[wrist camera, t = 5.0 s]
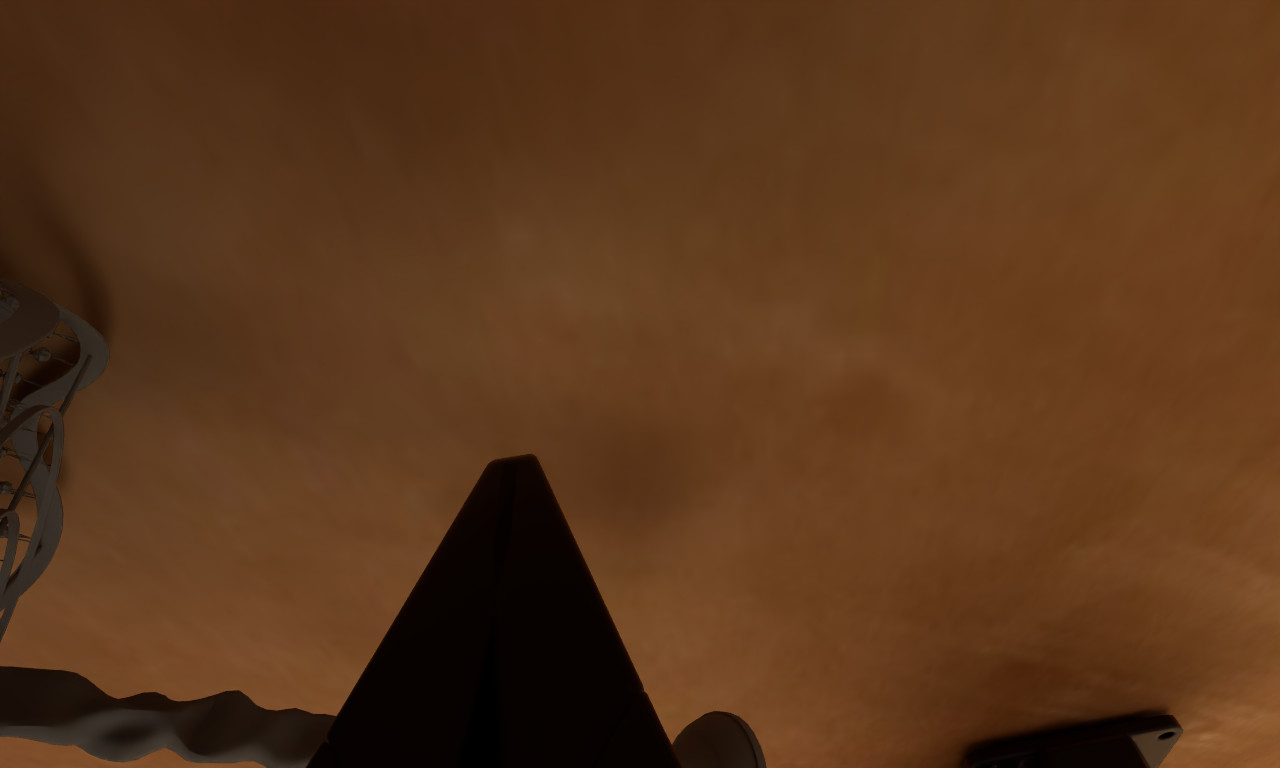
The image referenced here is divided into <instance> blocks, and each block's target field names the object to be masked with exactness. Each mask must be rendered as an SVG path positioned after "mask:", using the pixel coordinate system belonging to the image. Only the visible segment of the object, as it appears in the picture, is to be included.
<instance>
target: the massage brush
mask: <svg viewBox="0 0 1280 768" xmlns="http://www.w3.org/2000/svg"><path fill="white" fill-rule="evenodd" d="M0 285H1V286H0V287H1V288H3V289H4V290H6V291H4V290H0V291H1V292H2V291H3V292H8V293H12V294H10V295H9V296H7V297H6V298H4V293H3V292H2V294H3V297H1V299H0V361H2V360H5V359H7V358H9V357H11V361H10V364H9V367H8V371H7V372H6V373H5V374H2V373H3V372H2V370H1V369H0V370H1V374H0V376H2V375H3V376H4V377H3V380H5V381H4V384H3V387H2V391H1V394H0V429H2V428H3V429H2V430H1V431H0V459H1V458H3V457H5V455H10V454H7V450H8V449H9V448H7V447H4V446H3V445H4V444H5V443H6V442H7V441H8V440H9V439H10V438H11V441H12V444H13V447H14V449H15V452H16V454H17V456H16V455H11V456H13V457H15V456H16V457H15V458H18V459H19V460H20V462H21V464H22V466H23V468H24V470H25V472H26V475H25V476H24V478H23V480H22V482H21V484H20V486H19V488H18V490H17V492H15V493H16V494H15V495H14V497H13V499H12V501H11V503H10V505H9V507H8V509H7V510H6V509H0V519H2V520H1V522H0V538H3V537H5V538H8V541H7V547H6V552H5V557H4V560H0V561H3V565H2V568H1V572H0V611H2V610H3V609H4V608H5V611H4V613H3V616H2V618H1V621H0V642H1V640H2V637H3V635H4V633H5V630H6V628H7V625H8V623H9V620H10V618H11V615H12V613H13V610H14V608H15V606H16V603H17V601H18V598H19V597H20V596H21V595H22V594H23V593H24V592H25V591H26V590H27V589H28V588H29V587H30V586H31V585H32V584H33V583H34V582H35V581H36V580H37V579H38V578H39V577H40V575H41V574H42V573H43V571H44V570H45V569H46V567H47V566H48V564H49V562H50V561H51V559H52V557H53V555H54V553H55V551H56V548H57V546H58V543H59V540H60V537H61V532H62V527H63V507H62V502H61V497H60V494H59V491H58V488H57V486H56V483H57V478H58V474H59V469H60V464H61V459H62V452H63V444H64V423H63V416H64V414H65V412H66V410H67V408H68V406H69V404H70V402H71V400H72V398H73V396H74V394H75V393H76V392H77V391H79V390H81V389H82V388H84V387H86V386H88V385H89V384H91V383H92V382H93V381H95V380H96V379H97V378H98V377H99V376H100V375H101V374H102V373H103V372H104V370H105V369H106V367H107V365H108V362H109V358H110V351H109V347H108V344H107V342H106V340H105V339H104V337H103V336H102V335H101V334H100V333H99V332H98V331H97V330H96V329H95V328H94V327H93V326H91V325H90V324H89V323H88V322H86V321H85V320H83V319H82V318H81V317H79V316H77V315H76V314H74V313H73V312H71V311H69V310H67V309H66V308H64V307H62V306H60V305H59V304H57V303H55V302H53V301H51V300H50V299H48V298H47V297H45V296H44V295H42V294H40V293H39V292H37V291H35V290H33V289H31V288H29V287H27V286H25V285H23V284H20V283H16V282H12V281H9V280H6V279H3V278H0ZM5 288H6V289H5ZM8 290H9V291H10V292H9V291H8ZM3 298H4V299H3ZM2 299H3V300H5V301H3V300H2ZM15 309H18V310H17V311H16V310H15ZM59 319H60V320H61V321H63V322H64V323H65V324H66V325H67V326H69V327H70V328H71V330H72V331H73V332H74V333H75V334H76V336H77V337H78V340H79V341H76V340H75V339H73V338H71V337H70V336H68V337H70V338H71V339H73V340H70V339H68V337H67V336H63V335H59V334H56V333H54V329H55V328H56V326H57V324H58V322H59ZM53 334H56V335H59V336H61V337H64V338H66V339H67V340H70V341H74V340H75V342H79V343H80V346H81V353H80V357H79V360H78V362H77V363H76V364H75V366H74V367H73V368H71V369H70V370H69V371H68V372H66V373H65V374H63V375H62V376H60V377H59V378H57V379H55V380H53V381H51V382H49V383H48V384H46V385H44V386H41V385H40V384H38V383H36V382H32V381H27V380H23V379H21V374H20V373H18V372H17V369H18V366H19V363H20V359H21V356H27V355H29V354H33V357H34V358H35V359H36V360H38V361H39V362H45V361H47V360H49V359H50V358H54V357H51V352H50V351H49V350H48V349H47V348H45V347H42V348H38V349H36V350H35V351H34V352H33V351H32V348H31V347H33V346H34V345H36V344H38V343H39V342H41V341H42V340H44V339H45V338H49V337H50V336H52V335H53ZM29 348H31V351H30V353H29V354H27V355H22V353H23V351H25V350H27V349H29ZM31 352H33V353H31ZM55 359H57V360H59V361H61V360H63V359H59V358H55ZM65 361H66V360H63V361H61V362H63V363H65ZM67 362H68V361H67ZM66 364H71V365H74V364H72V363H70V362H68V363H66ZM20 380H23V381H26V382H28V383H30V382H32V383H30V384H33V385H34V384H35V383H36V384H38V385H35V386H39V385H40V388H38V389H36V390H35V391H33V392H31V393H30V394H28V395H27V396H25V397H24V398H23V399H22V400H21V401H20V402H19V401H17V400H16V399H14V398H10V399H9V396H10V392H11V389H12V386H13V384H16V383H18V382H19V381H20ZM65 397H66V398H65ZM63 398H65V400H64V402H63V404H62V406H61V408H60V410H59V411H58V410H57V409H56V408H54V407H50V406H51V405H52V404H54V403H55V402H57V401H59V400H61V399H63ZM12 399H14V400H15V401H17V402H12V401H11V400H12ZM8 400H9V401H10V402H12V403H18V402H19V403H18V404H17V405H13V404H9V403H7V402H8ZM7 404H8V405H7ZM10 405H12V406H10ZM6 406H9V407H13V408H14V410H13V411H9V410H7V409H6ZM14 406H16V407H14ZM5 411H9V412H12V414H11V417H10V421H9V423H8V418H7V417H5V416H4V412H5ZM44 412H48V413H49V414H50V416H51V417H48V416H44V415H42V414H43V413H44ZM41 416H44V417H48V418H52V421H53V423H52V425H51V427H50V429H49V431H48V433H47V434H44V435H46V436H45V438H44V440H43V442H42V444H41V446H40V448H39V446H38V441H37V433H39V432H37V426H38V422H39V419H40V417H41ZM40 434H43V433H40ZM53 435H54V436H53ZM52 437H54V447H53V455H52V462H51V465H48V466H51V467H50V471H49V469H48V467H47V464H46V463H45V461H44V459H43V454H44V452H45V450H46V448H47V447H48V445H49V443H50V441H51V439H52ZM6 448H7V449H6ZM9 451H13V450H11V449H9ZM29 481H30V483H31V485H32V488H33V491H34V494H35V495H34V496H35V497H31V498H36V502H37V510H38V519H37V522H36V525H35V528H34V531H33V535H32V538H30V539H31V541H26V540H22V541H26V542H30V544H29V547H28V549H27V552H26V555H25V557H24V559H23V561H22V562H21V564H20V565H19V566H18V568H17V569H16V570H15V572H14V573H13V574H12V575H11V576H10V572H11V569H12V565H13V562H14V558H15V554H16V549H17V544H18V540H21V539H18V538H19V537H20V536H19V535H22V534H19V529H20V522H19V517H18V514H17V513H16V512H15V511H14V510H15V508H16V506H17V504H18V502H19V501H20V499H21V497H22V496H26V495H23V494H27V492H25V489H26V487H27V485H28V483H29ZM12 490H15V489H13V487H12V484H11V483H10V482H8V481H6V482H0V494H9V493H11V491H12ZM11 494H14V491H12V493H11ZM28 495H33V494H30V493H28ZM27 497H30V496H27ZM7 524H8V525H9V527H8V526H7ZM23 536H24V535H22V536H21V537H23ZM24 538H29V537H27V536H24ZM9 576H10V577H9ZM336 717H337V716H333V715H327V714H312V713H309V712H306V711H303V710H300V709H297V708H292V709H284V710H278V711H274V710H266V709H264V708H261V707H259V706H257V705H256V704H255V703H254V702H253V701H252V700H251V699H250V698H249V697H248V696H246V695H245V694H243V693H242V692H241V691H239V690H237V691H225V692H222V693H219V694H216V695H213V696H209V697H206V698H202V699H198V700H192V701H180V702H178V701H173V700H170V699H168V698H167V697H166V696H165V695H162V694H159V693H157V692H147V693H141V694H137V695H134V696H131V697H126V698H122V699H116V698H113V697H111V696H108V695H107V694H106V693H104V692H103V691H102V690H100V689H99V688H98V687H97V686H95V685H94V684H93V683H92V682H90V681H89V680H88V679H86V678H85V677H83V676H81V675H79V674H77V673H74V672H69V671H63V670H48V669H34V668H21V667H3V666H0V737H19V738H25V739H30V740H35V741H40V742H45V743H49V744H53V745H65V746H67V745H76V746H78V747H80V748H82V749H83V750H85V751H86V752H88V753H89V754H91V755H93V756H96V757H98V758H100V759H104V760H108V761H114V762H128V761H133V760H137V759H139V758H141V757H144V756H146V755H148V754H150V753H152V752H155V751H157V750H160V749H164V748H168V749H170V750H172V751H174V752H176V753H177V754H179V755H180V756H181V757H182V758H184V759H185V760H187V761H191V762H196V763H236V762H242V761H254V762H257V763H259V764H261V765H264V766H266V767H267V768H306V766H307V765H308V763H309V761H310V760H311V758H312V756H313V755H314V753H315V751H316V749H317V748H318V746H319V744H320V743H321V742H323V741H327V742H328V740H327V738H326V734H327V732H328V730H329V728H330V727H331V725H332V723H333V722H334V720H335V718H336ZM672 746H673V748H674V750H675V752H676V754H677V756H678V758H679V760H680V762H681V764H682V766H683V768H766V762H765V759H764V755H763V752H762V749H761V746H760V744H759V742H758V740H757V738H756V736H755V734H754V732H753V731H752V730H751V728H750V727H749V726H748V724H747V723H746V722H745V721H743V720H742V719H741V718H740V717H739V716H736V715H734V714H731V713H728V712H720V711H713V712H710V713H706V714H704V715H703V716H701V717H700V718H698V719H697V720H695V721H693V722H692V723H690V724H689V725H688V726H686V727H685V728H684V730H683V731H682V732H681V733H680V734H679V735H678V736H677V738H676V739H675V741H674V742H673V744H672Z"/></svg>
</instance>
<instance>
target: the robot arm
mask: <svg viewBox="0 0 1280 768" xmlns="http://www.w3.org/2000/svg"><path fill="white" fill-rule="evenodd" d="M1182 733H1183V729H1182V727H1181V726H1180V724H1179V723H1178V721H1177V720H1176V718H1175V717H1174V716H1173V715H1161V716H1156V717H1150V718H1145V719H1139V720H1134V721H1128V722H1123V723H1118V724H1112V725H1107V726H1101V727H1096V728H1090V729H1085V730H1079V731H1074V732H1068V733H1063V734H1057V735H1052V736H1046V737H1041V738H1035V739H1030V740H1025V741H1019V742H1014V743H1008V744H1003V745H997V746H992V747H986V748H982V749H978V750H975V751H973V752H971V753H969V754H968V755H967V756H966V757H965V759H964V762H963V765H962V768H1158V767H1159V766H1160V764H1161V763H1162V761H1163V760H1164V758H1165V757H1166V756H1167V754H1168V753H1169V751H1170V750H1171V748H1172V747H1173V746H1174V744H1175V743H1176V741H1177V740H1178V738H1179V737H1180V736H1181V734H1182ZM326 738H327V740H328V742H327V741H323V742H321V743H320V744H319V746H318V748H317V749H316V751H315V753H314V755H313V756H312V758H311V760H310V761H309V763H308V765H307V766H306V768H683V766H682V764H681V762H680V760H679V758H678V756H677V754H676V752H675V750H674V748H673V746H672V744H671V742H670V741H669V739H668V737H667V735H666V733H665V731H664V729H663V727H662V725H661V723H660V720H659V718H658V716H657V714H656V712H655V710H654V707H653V705H652V703H651V701H650V699H649V697H648V695H647V693H646V692H644V688H643V685H642V682H641V680H640V678H639V676H638V674H637V672H636V670H635V667H634V665H633V663H632V661H631V659H630V657H629V655H628V652H627V650H626V648H625V646H624V644H623V642H622V639H621V637H620V635H619V633H618V631H617V629H616V627H615V624H614V622H613V620H612V618H611V616H610V614H609V611H608V609H607V607H606V605H605V603H604V601H603V599H602V596H601V594H600V592H599V590H598V588H597V586H596V583H595V581H594V579H593V577H592V575H591V573H590V571H589V568H588V566H587V564H586V562H585V560H584V558H583V555H582V553H581V551H580V549H579V547H578V545H577V543H576V540H575V538H574V536H573V534H572V532H571V530H570V527H569V525H568V523H567V521H566V519H565V517H564V515H563V512H562V510H561V508H560V506H559V504H558V502H557V499H556V497H555V495H554V493H553V491H552V489H551V487H550V484H549V482H548V480H547V478H546V476H545V474H544V471H543V469H542V467H541V465H540V463H539V461H538V459H537V457H536V456H535V455H533V454H528V455H521V456H515V457H509V458H502V459H496V460H493V461H491V462H490V463H489V464H488V465H487V467H486V468H485V470H484V471H483V473H482V475H481V476H480V478H479V480H478V481H477V483H476V485H475V486H474V488H473V490H472V492H471V493H470V495H469V497H468V498H467V500H466V502H465V503H464V505H463V507H462V508H461V510H460V512H459V513H458V515H457V517H456V518H455V520H454V522H453V523H452V525H451V527H450V528H449V530H448V532H447V533H446V535H445V537H444V538H443V540H442V542H441V543H440V545H439V547H438V548H437V550H436V552H435V553H434V555H433V557H432V558H431V560H430V562H429V563H428V565H427V567H426V568H425V570H424V572H423V573H422V575H421V577H420V578H419V580H418V582H417V583H416V585H415V587H414V588H413V590H412V592H411V593H410V595H409V597H408V598H407V600H406V602H405V603H404V605H403V607H402V608H401V610H400V612H399V613H398V615H397V617H396V618H395V620H394V622H393V623H392V625H391V627H390V628H389V630H388V632H387V633H386V635H385V637H384V638H383V640H382V642H381V643H380V645H379V647H378V648H377V650H376V652H375V653H374V655H373V657H372V658H371V660H370V662H369V663H368V665H367V667H366V668H365V670H364V672H363V673H362V675H361V677H360V678H359V680H358V682H357V683H356V685H355V687H354V688H353V690H352V692H351V693H350V695H349V697H348V698H347V700H346V702H345V703H344V705H343V707H342V708H341V710H340V712H339V713H338V715H337V717H336V718H335V720H334V722H333V723H332V725H331V727H330V728H329V730H328V732H327V734H326Z"/></svg>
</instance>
